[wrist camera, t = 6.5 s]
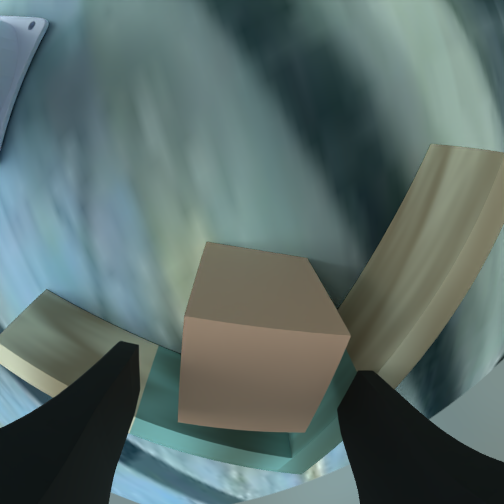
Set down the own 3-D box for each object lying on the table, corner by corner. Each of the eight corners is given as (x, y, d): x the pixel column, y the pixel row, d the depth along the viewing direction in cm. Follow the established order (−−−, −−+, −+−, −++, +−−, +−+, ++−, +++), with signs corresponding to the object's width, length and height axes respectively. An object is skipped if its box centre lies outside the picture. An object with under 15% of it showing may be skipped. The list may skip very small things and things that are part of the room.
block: (195, 327, 14) (177, 421, 9) (206, 241, 13) (184, 315, 7) (284, 339, 15) (304, 432, 9) (306, 257, 13) (350, 335, 8)
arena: (44, 309, 14) (-3, 361, 9) (153, 1, 9) (116, -55, 4) (288, 408, 17) (300, 474, 12) (449, 161, 12) (522, 176, 7)
